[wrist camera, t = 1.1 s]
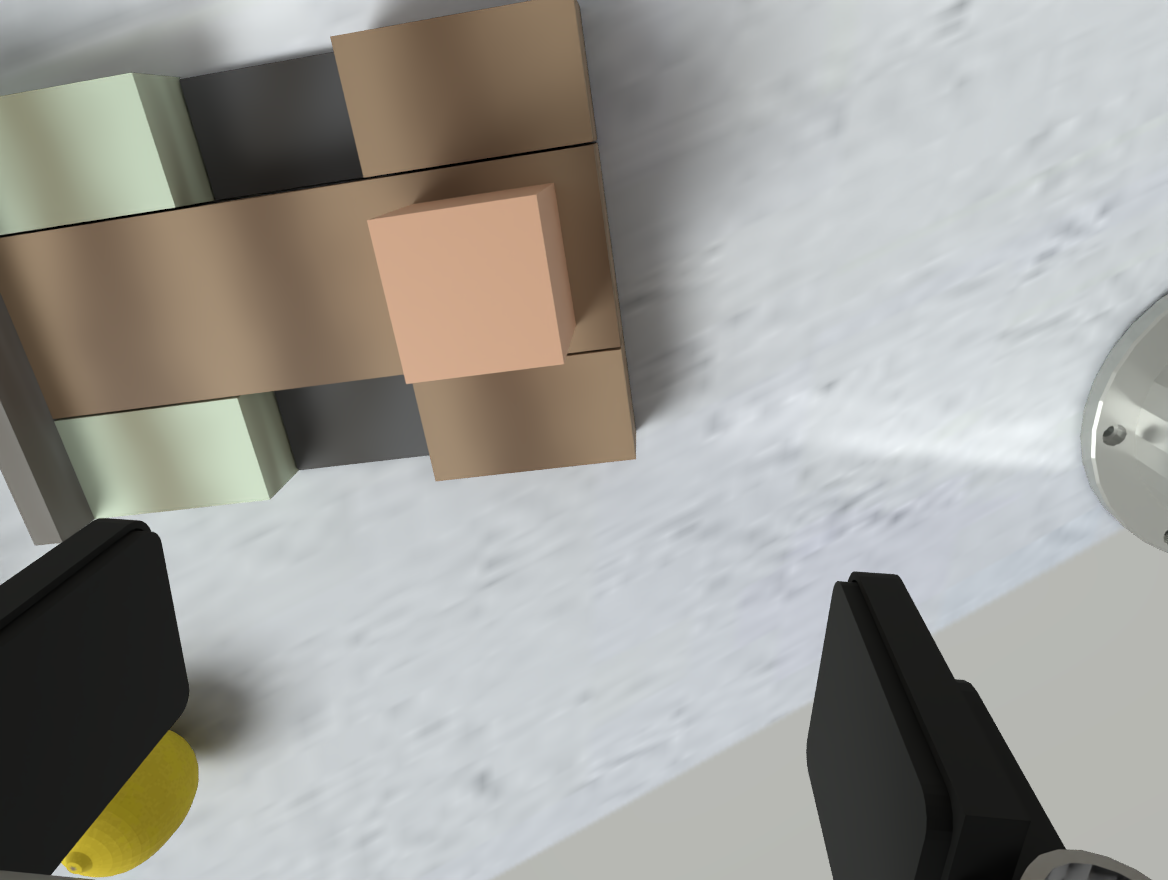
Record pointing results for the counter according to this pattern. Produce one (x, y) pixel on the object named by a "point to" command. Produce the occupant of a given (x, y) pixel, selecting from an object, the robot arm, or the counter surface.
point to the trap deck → (285, 270)
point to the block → (476, 283)
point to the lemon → (140, 812)
